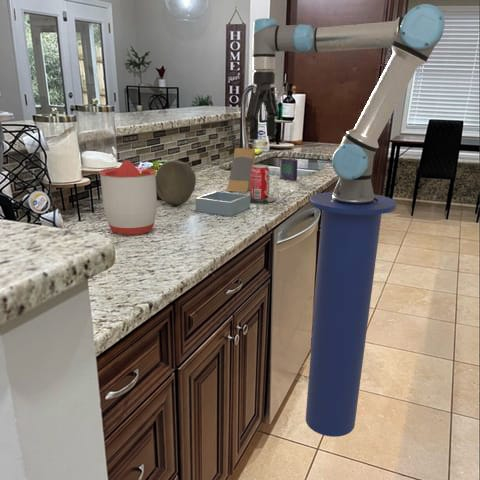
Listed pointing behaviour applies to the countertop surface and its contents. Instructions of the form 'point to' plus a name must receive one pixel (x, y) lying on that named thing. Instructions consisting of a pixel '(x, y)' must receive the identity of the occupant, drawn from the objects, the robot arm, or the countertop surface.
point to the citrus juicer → (129, 198)
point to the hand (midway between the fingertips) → (262, 137)
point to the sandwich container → (241, 170)
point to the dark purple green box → (288, 168)
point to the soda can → (259, 182)
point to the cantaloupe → (175, 182)
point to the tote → (222, 203)
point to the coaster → (262, 200)
